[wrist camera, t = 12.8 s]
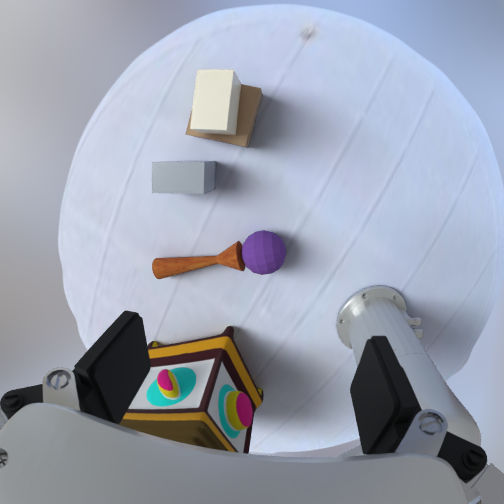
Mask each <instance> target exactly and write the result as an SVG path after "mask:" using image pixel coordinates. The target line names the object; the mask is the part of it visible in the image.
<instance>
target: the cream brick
mask: <svg viewBox="0 0 504 504" xmlns="http://www.w3.org/2000/svg"><path fill="white" fill-rule="evenodd" d="M240 91H241V82H240V80H239V79H238V77H237V75H236V73H235V71H234V70H197V77H196V84H195V92H194V100H193V108H192V116H191V126H190V129H192V130H196V131H199V132H202V133H205V134H225V135H236V126H237V117H238V108H239V99H240Z"/></svg>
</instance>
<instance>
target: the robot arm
mask: <svg viewBox="0 0 504 504" xmlns="http://www.w3.org/2000/svg"><path fill="white" fill-rule="evenodd" d="M363 294H364V295H363ZM421 322H422V321H421V318H420V317H414V318H410V317H409V316H408V314H407V307H406V303H405V301H404V299H403V298H402V296H401V295H400V294H399V293H398V292H397V291H396V290H394V289H392V288H390V287H386V286H371V287H368V288H364V289H362V290H360V291H358V292H356V293H355V294H354V295H352V296H351V297H350V298H349V299H348V300H347V301H346V302H345V303H344V305H343V306H342V307H341V309H340V311H339V313H338V317H337V322H336V327H337V333H338V336H339V338H340V340H341V341H342V343H343V344H344V345H345V346H347V347H348V348H350V349H353V353H354V356H355V359H356V362H357V366H358V367H357V370H356V373H355V376H354V378H353V381H352V384H351V388H350V393H351V397H352V402H353V407H354V411H355V416H356V421H357V426H358V431H359V436H360V442H361V445H359V446H357V447H355V448H353V449H351V450H349V451H347V452H345V453H343V454H341V455H339V456H337V457H281V456H266V455H255V454H245V453H237V452H229V451H223V450H216V449H210V448H205V447H200V446H194V445H190V444H185V443H181V442H176V441H172V440H168V439H164V438H160V437H156V436H153V435H149V434H146V433H143V432H139V431H136V430H133V429H130V428H127V427H124V426H121V425H118V424H119V423H120V422H121V420H122V419H123V417H124V415H125V413H126V412H127V410H128V408H129V406H130V405H131V403H132V401H133V399H134V398H135V396H136V394H137V392H138V391H139V389H140V387H141V385H142V384H143V382H144V380H145V378H146V377H147V375H148V373H149V372H150V369H151V362H150V357H149V352H148V347H147V342H146V336H145V331H144V325H143V319H142V317H140V316H139V314H138V313H136V312H131V311H124V312H123V313H122V314H121V315H120V316H119V317H118V318H117V319H116V320H115V322H114V323H113V324H112V325H111V326H110V327H109V328H108V329H107V330H106V331H105V332H104V333H103V335H102V336H101V337H100V338H99V339H98V340H97V341H96V342H95V343H94V344H93V346H92V347H91V348H90V349H89V350H88V351H87V352H86V353H85V355H84V356H83V357H82V358H81V359H80V360H79V362H77V364H76V365H75V366H74V367H75V369H74V370H73V371H71V370H70V369H68V368H64V367H58V368H54V369H52V370H50V371H48V372H47V373H46V374H45V376H44V378H43V384H40V385H36V386H31V387H26V388H21V389H16V390H11V391H9V392H7V393H6V394H4V396H3V397H2V399H1V401H0V504H504V474H503V473H502V472H501V471H500V470H499V469H497V468H496V467H495V466H494V465H493V464H492V463H491V464H490V465H487V455H486V453H485V451H484V450H483V449H482V448H481V447H480V446H481V434H480V431H479V428H478V426H477V423H476V422H475V420H474V419H473V417H472V416H471V415H470V413H469V412H468V411H467V410H466V408H465V407H464V406H463V405H462V404H461V402H460V401H459V400H458V399H457V397H456V396H455V395H454V393H453V392H452V391H451V389H450V388H449V387H448V385H447V384H446V382H445V381H444V379H443V377H442V376H441V374H440V373H439V371H438V370H437V368H436V366H435V365H434V363H433V361H432V360H431V358H430V357H429V355H428V353H427V352H426V350H425V348H424V347H423V345H422V344H421V342H420V340H419V339H421V338H422V337H423V330H422V328H413V329H412V328H411V326H410V325H413V326H419V325H421Z"/></svg>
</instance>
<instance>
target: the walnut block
mask: <svg viewBox="0 0 504 504" xmlns="http://www.w3.org/2000/svg"><path fill="white" fill-rule="evenodd" d="M262 95H263V94H262V91H261V88H257V87H252V86H247V85H242V84H241V91H240V99H239V108H238V117H237V126H236V135H225V134H205V133H202V132H199V131H196V130H192V129H190V126H191V116H192V111H191V115H190V119H189V123H188V127H187V131H186V135H191V136H195V137H201V138H206V139H211V140H216V141H221V142H225V143H230V144H234V145H239V146H243V147H247V148H248V147H249V143H250V139H251V136H252V132H253V128H254V124H255V121H256V117H257V113H258V110H259V106H260V102H261V99H262ZM192 108H193V107H192Z"/></svg>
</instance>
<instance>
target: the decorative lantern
mask: <svg viewBox="0 0 504 504" xmlns="http://www.w3.org/2000/svg"><path fill="white" fill-rule="evenodd" d="M233 334H234V330H233V327H231V326H228V327H227V328H226V329H225V331H224V332H223V333H222V334H220V335H217V336H212V337H207V338H202V339H197V340H192V341H186V342H181V343H175V344H169V345H163V346H158V343H157V342H156V341H152V342H151V343H149V345H148V346H147V347H148V352H149V357H150V362H151V369H150V372H149V373H148V375H147V377H146V378H145V380H144V382H143V384H142V385H141V387H140V389H139V391H138V392H137V394H136V396H135V398H134V399H133V401H132V403H131V405H130V406H129V408H128V410H127V412H126V413H125V415H124V417H123V419H122V420H121V422H120V423H119V424H118V425H121V426H124V427H127V428H130V429H133V430H136V431H139V432H143V433H146V434H149V435H153V436H156V437H160V438H164V439H168V440H172V441H176V442H181V443H185V444H190V445H194V446H200V447H205V448H210V449H216V450H223V451H229V452H237V453H245V454H248V453H249V446H250V439H251V432H252V425H253V417H254V412H255V410H256V409H257V408H258V407H259V406H260V405H261V404H262V402H263V396H264V395H263V390H262V389H260V388H258V389H257V387H256V385H255V383H254V381H253V379H252V377H251V375H250V373H249V371H248V369H247V367H246V365H245V363H244V361H243V359H242V357H241V355H240V353H239V351H238V349H237V347H236V344H235V342H234V338H233Z"/></svg>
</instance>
